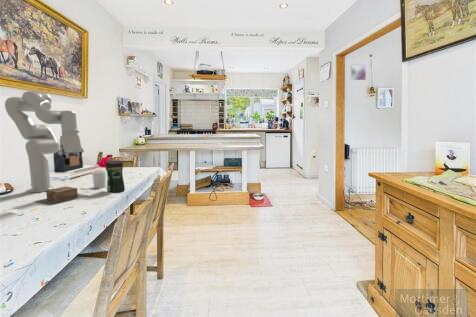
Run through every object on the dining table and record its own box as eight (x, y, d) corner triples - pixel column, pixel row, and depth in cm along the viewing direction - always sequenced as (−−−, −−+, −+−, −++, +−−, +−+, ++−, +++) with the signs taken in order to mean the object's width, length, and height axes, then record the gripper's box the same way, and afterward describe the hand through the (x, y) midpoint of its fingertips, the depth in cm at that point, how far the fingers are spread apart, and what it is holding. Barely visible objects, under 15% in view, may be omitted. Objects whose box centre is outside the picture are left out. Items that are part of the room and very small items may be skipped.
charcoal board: (33, 204, 140) (33, 201, 140) (72, 195, 157) (72, 192, 157) (51, 208, 133) (51, 205, 132) (90, 198, 150) (90, 195, 150)
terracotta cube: (65, 165, 157) (64, 156, 157) (73, 164, 162) (73, 155, 161) (71, 166, 155) (70, 157, 155) (79, 164, 160) (78, 156, 159)
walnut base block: (47, 199, 143) (46, 190, 142) (66, 195, 152) (65, 186, 151) (58, 202, 138) (57, 192, 138) (77, 197, 147) (77, 188, 146)
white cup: (101, 188, 175) (100, 172, 174) (90, 188, 177) (89, 172, 175) (109, 185, 183) (108, 170, 182) (98, 185, 184) (97, 170, 183)
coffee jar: (122, 188, 173) (120, 159, 171) (126, 191, 167) (124, 160, 165) (105, 191, 167) (103, 160, 165) (109, 193, 161) (107, 162, 159)
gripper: (79, 132, 166) (82, 162, 168) (50, 133, 150) (53, 166, 152) (87, 132, 162) (90, 163, 164) (58, 133, 147) (61, 167, 149)
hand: (72, 164), depth 158 cm, fingers closed on terracotta cube, 5 cm apart
